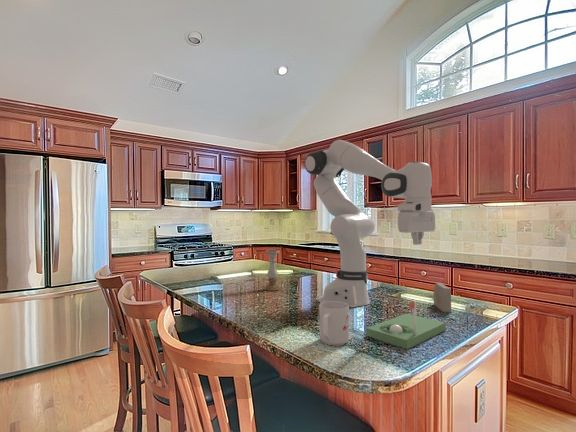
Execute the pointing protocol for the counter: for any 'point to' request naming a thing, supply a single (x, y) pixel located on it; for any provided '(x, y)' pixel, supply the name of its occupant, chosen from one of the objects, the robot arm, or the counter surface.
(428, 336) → the green
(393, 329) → the ball
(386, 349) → the counter surface
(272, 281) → the candle holder
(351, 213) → the robot arm
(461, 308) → the counter surface
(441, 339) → the counter surface
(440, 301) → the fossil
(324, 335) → the mug
